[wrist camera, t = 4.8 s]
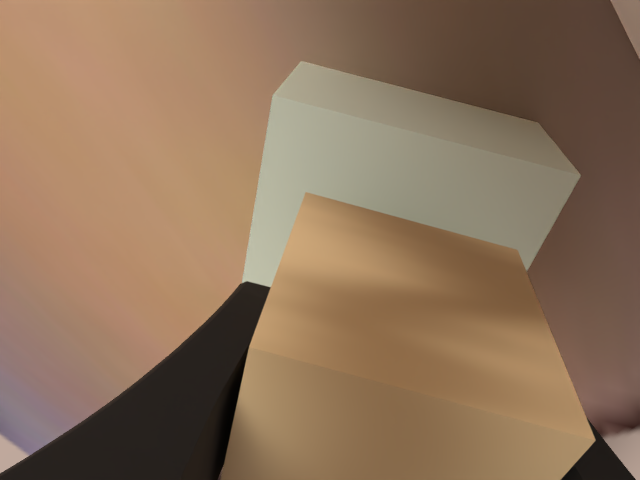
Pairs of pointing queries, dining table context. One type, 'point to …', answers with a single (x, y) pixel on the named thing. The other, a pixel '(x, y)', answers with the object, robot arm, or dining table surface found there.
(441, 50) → the dining table surface
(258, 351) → the oak cube
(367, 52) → the dining table surface
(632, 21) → the gable box
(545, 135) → the sage block
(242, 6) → the dining table surface
